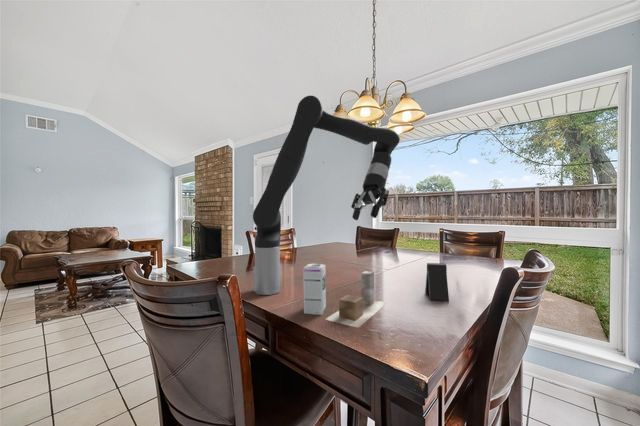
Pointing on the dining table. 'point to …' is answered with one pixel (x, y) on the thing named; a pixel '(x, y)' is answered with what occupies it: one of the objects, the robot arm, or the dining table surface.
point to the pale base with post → (368, 303)
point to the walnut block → (351, 307)
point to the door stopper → (437, 282)
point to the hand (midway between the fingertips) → (363, 218)
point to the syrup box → (314, 289)
